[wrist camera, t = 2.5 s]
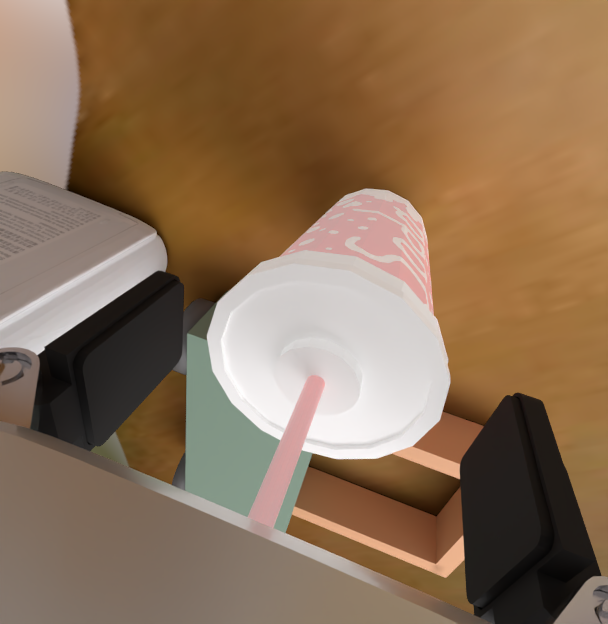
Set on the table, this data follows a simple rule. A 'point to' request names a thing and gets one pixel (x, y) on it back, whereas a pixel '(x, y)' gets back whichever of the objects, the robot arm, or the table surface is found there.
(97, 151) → the table surface
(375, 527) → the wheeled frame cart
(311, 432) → the beverage cup
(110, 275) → the photo printer
